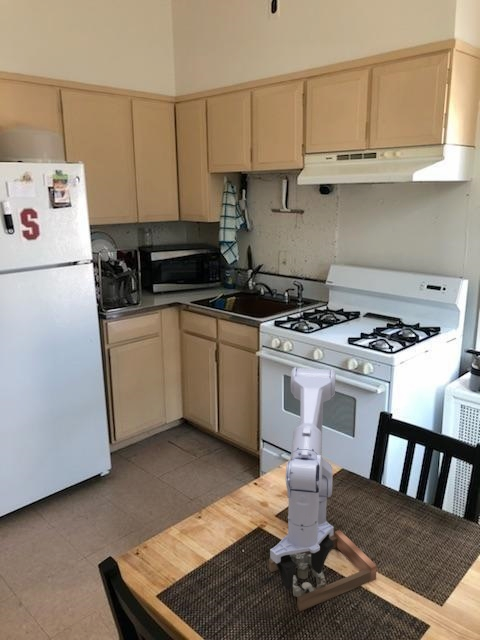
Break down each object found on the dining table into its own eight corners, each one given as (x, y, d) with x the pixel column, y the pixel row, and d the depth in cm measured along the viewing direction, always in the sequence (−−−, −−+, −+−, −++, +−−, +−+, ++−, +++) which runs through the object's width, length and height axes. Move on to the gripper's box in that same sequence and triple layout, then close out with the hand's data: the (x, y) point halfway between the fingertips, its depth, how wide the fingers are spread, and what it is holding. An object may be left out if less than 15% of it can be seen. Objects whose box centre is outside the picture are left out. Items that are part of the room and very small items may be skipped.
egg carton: (327, 599, 109) (327, 583, 108) (291, 601, 108) (291, 585, 107) (316, 562, 119) (316, 547, 118) (283, 565, 119) (283, 549, 118)
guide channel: (268, 568, 117) (268, 555, 116) (339, 542, 125) (339, 529, 124) (300, 611, 106) (300, 597, 105) (375, 579, 114) (376, 565, 113)
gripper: (287, 542, 92) (286, 607, 95) (345, 514, 100) (343, 575, 103) (263, 523, 98) (263, 584, 101) (320, 497, 106) (318, 555, 109)
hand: (302, 578), depth 103 cm, fingers open, 7 cm apart
